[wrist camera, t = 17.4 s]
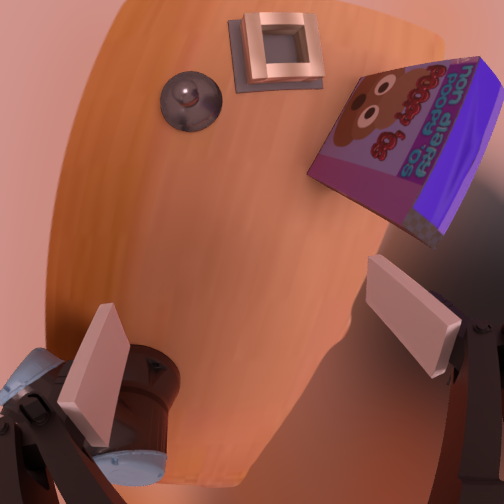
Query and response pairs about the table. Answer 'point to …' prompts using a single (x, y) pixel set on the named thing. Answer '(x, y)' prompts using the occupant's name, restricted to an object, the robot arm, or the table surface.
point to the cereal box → (413, 142)
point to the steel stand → (190, 101)
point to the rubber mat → (275, 52)
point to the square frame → (282, 24)
